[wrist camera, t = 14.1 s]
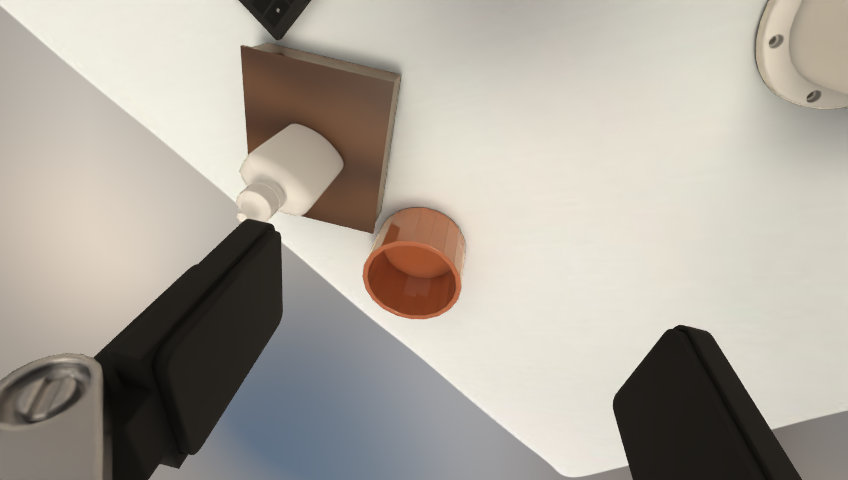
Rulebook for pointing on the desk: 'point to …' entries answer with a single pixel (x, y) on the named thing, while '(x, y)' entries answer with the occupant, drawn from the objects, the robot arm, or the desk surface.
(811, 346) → the desk surface
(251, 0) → the calculator
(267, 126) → the walnut box
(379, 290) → the pencil cup
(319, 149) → the eye dropper bottle
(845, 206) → the desk surface
